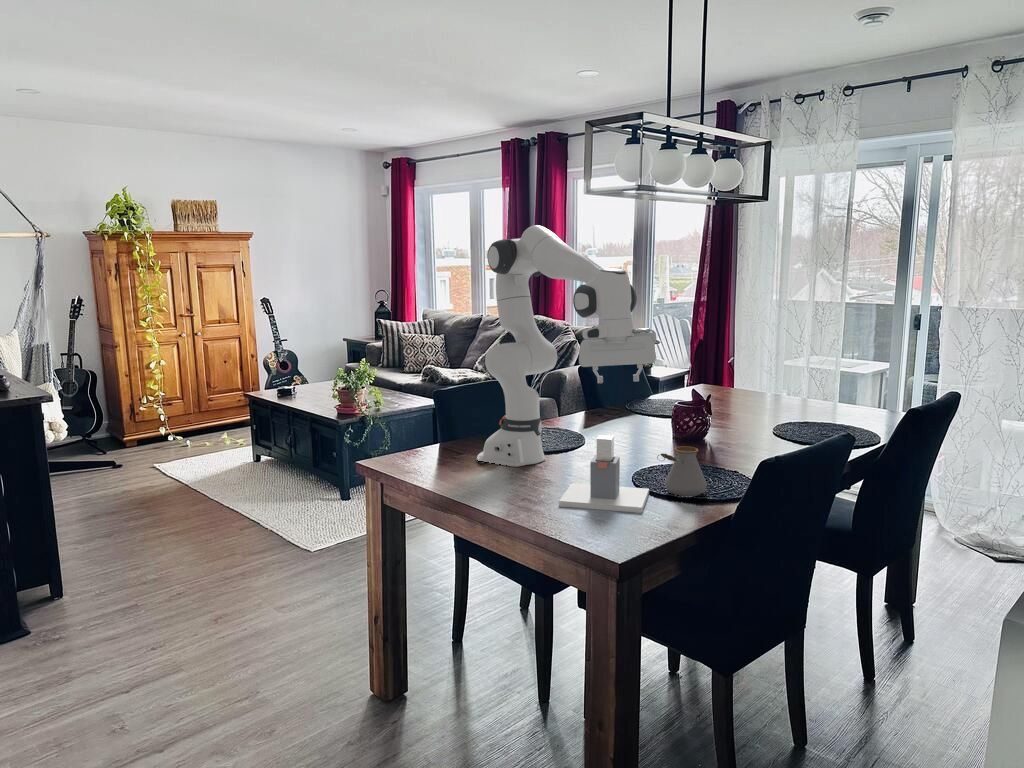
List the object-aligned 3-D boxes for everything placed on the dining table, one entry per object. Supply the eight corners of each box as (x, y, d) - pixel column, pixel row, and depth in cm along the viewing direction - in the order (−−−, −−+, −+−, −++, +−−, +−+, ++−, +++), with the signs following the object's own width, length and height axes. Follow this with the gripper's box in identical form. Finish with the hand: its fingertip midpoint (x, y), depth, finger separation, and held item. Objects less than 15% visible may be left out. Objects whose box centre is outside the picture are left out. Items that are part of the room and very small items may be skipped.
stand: (559, 506, 196) (558, 464, 194) (571, 488, 211) (571, 449, 209) (641, 513, 190) (642, 470, 188) (648, 493, 205) (649, 454, 203)
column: (596, 496, 199) (596, 438, 196) (599, 491, 203) (599, 435, 200) (611, 497, 198) (611, 439, 195) (613, 492, 202) (614, 436, 199)
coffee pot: (675, 484, 213) (676, 434, 210) (713, 492, 206) (714, 440, 203) (640, 505, 196) (640, 450, 194) (679, 513, 189) (681, 457, 186)
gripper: (655, 327, 195) (657, 379, 196) (578, 331, 198) (580, 382, 199) (656, 328, 188) (658, 381, 190) (577, 332, 191) (579, 385, 193)
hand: (618, 382), depth 194 cm, fingers open, 8 cm apart
